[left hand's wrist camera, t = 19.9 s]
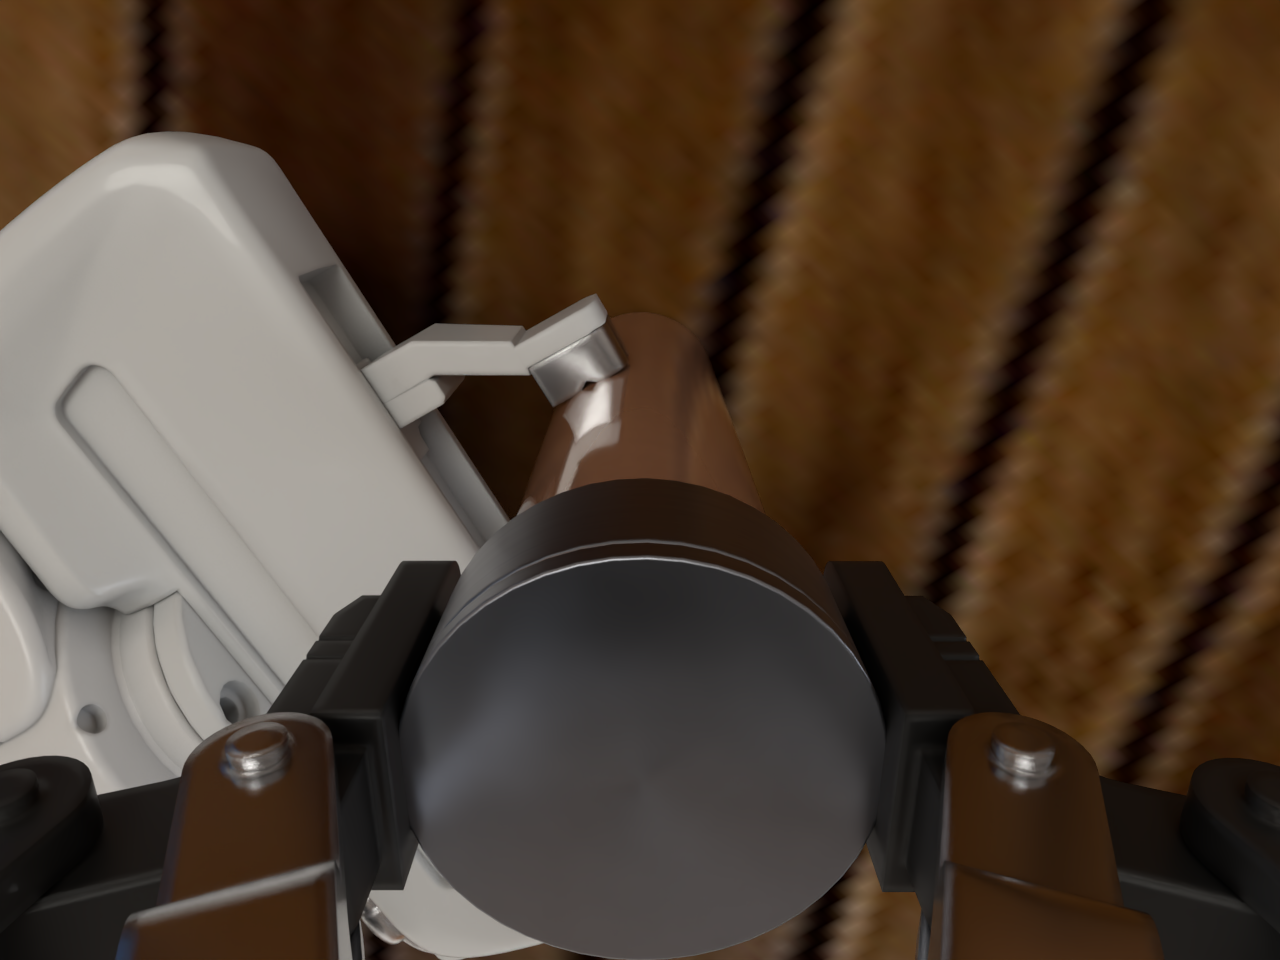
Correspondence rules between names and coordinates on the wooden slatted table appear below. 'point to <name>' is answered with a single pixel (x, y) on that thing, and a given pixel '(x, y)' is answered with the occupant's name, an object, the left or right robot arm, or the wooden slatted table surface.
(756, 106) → the wooden slatted table surface
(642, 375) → the brown cylinder
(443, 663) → the lid
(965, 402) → the wooden slatted table surface
